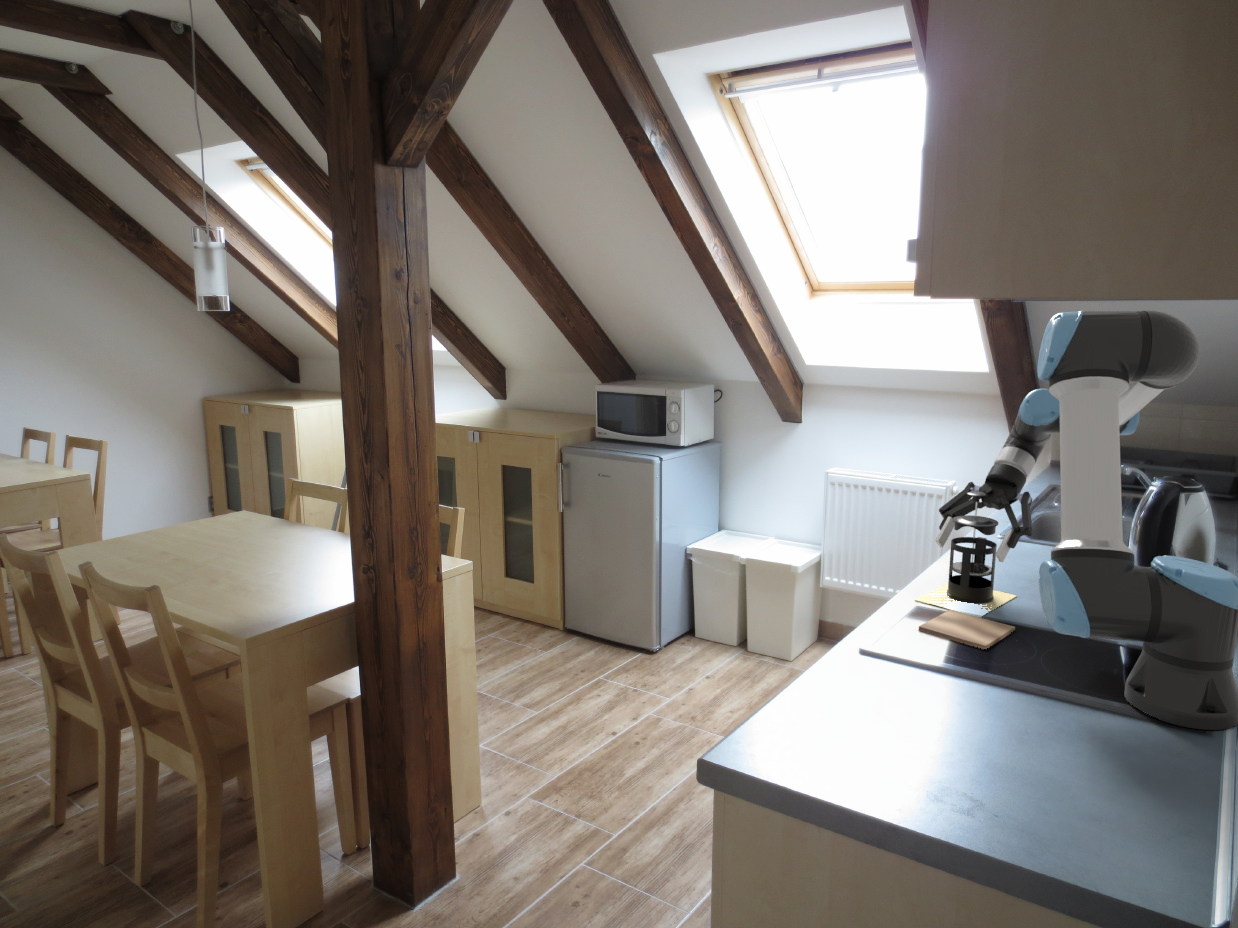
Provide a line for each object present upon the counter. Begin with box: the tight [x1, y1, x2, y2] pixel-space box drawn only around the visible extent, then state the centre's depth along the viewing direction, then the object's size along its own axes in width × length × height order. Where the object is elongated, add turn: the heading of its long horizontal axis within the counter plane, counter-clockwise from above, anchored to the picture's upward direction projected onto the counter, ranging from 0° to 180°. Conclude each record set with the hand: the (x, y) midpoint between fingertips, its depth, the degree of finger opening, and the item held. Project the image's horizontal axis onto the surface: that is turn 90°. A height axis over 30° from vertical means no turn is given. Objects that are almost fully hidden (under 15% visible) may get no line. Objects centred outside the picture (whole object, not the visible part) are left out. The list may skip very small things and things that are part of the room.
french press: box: [947, 491, 999, 604], centre depth 177 cm, size 12×9×23 cm
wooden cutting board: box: [918, 609, 1016, 650], centre depth 160 cm, size 13×13×1 cm
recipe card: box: [914, 583, 1018, 613], centre depth 178 cm, size 18×14×1 cm
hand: (968, 551), depth 175 cm, fingers open, 13 cm apart
